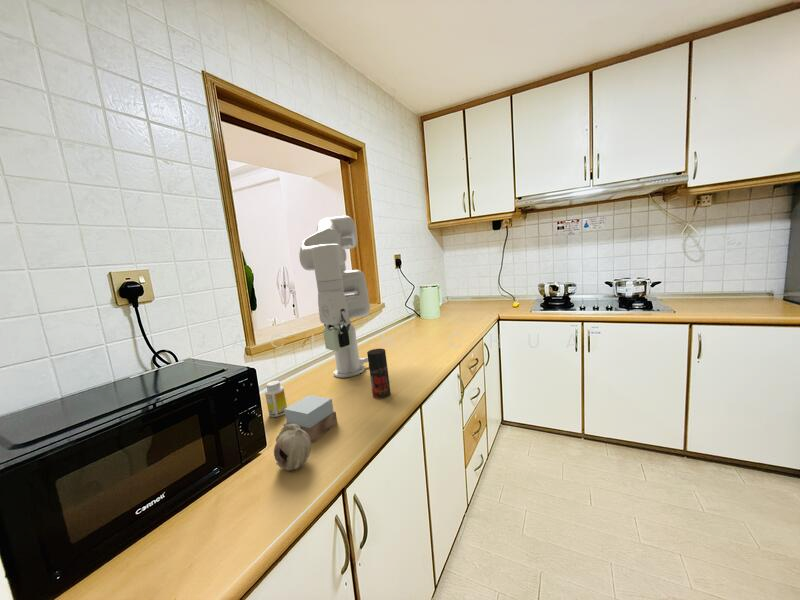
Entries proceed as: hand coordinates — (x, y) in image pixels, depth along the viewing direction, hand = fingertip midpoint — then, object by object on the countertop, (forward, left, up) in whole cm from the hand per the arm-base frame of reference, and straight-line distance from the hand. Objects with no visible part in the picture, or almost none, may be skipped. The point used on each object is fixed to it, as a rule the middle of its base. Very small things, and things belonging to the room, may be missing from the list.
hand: (338, 343), depth 100 cm
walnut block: (+14, +3, -21) cm, 25 cm away
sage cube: (0, 0, -1) cm, 1 cm away
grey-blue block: (+14, +3, -17) cm, 22 cm away
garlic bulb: (+24, +15, -21) cm, 35 cm away
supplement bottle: (+16, -16, -21) cm, 31 cm away
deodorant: (-12, +2, -21) cm, 24 cm away
